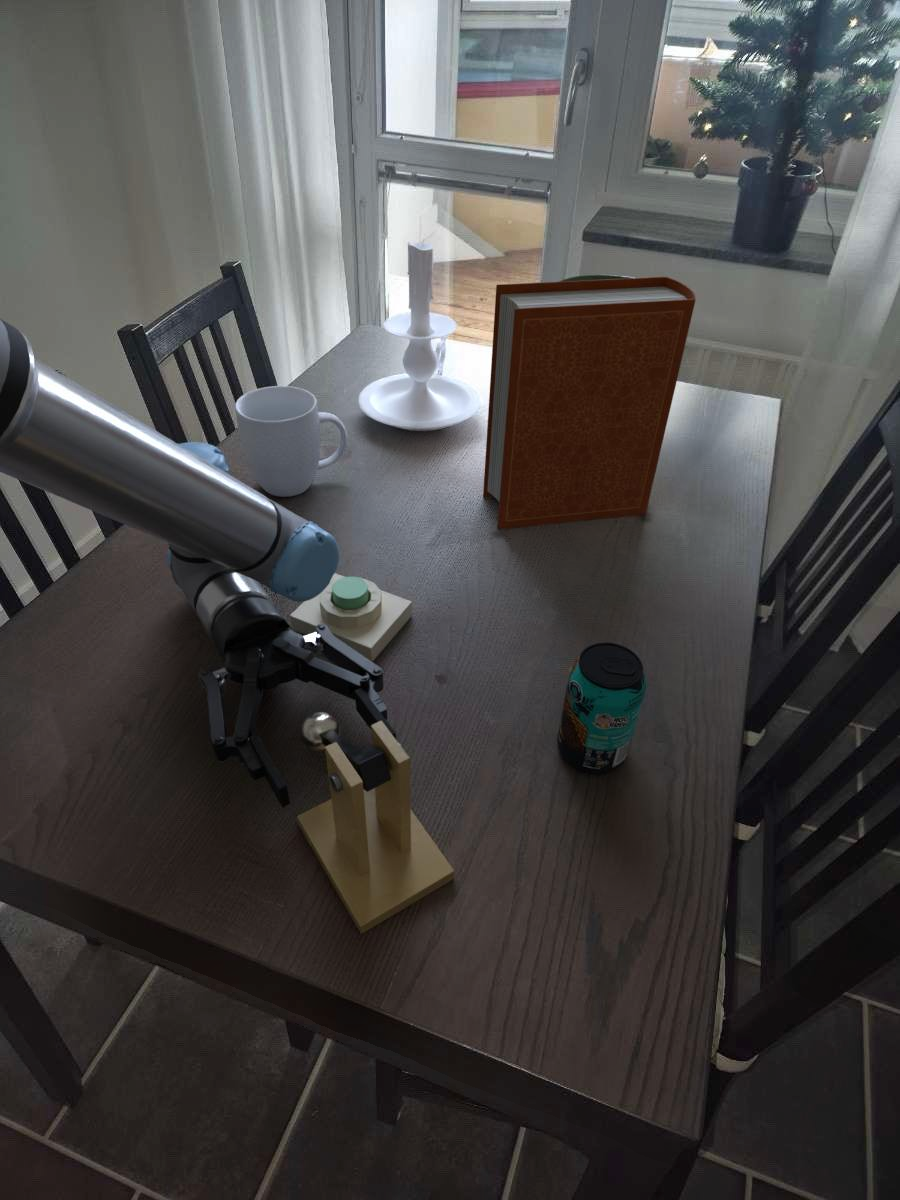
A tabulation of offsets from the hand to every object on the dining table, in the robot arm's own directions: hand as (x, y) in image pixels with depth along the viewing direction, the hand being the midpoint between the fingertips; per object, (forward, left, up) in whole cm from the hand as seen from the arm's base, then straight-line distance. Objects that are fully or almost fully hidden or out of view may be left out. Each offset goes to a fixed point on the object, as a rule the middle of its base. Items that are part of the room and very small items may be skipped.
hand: (340, 769), depth 67 cm
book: (0, +57, -5) cm, 58 cm away
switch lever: (+1, -1, +2) cm, 3 cm away
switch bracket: (+5, -3, -5) cm, 8 cm away
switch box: (-13, +21, -5) cm, 25 cm away
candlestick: (-32, +72, -5) cm, 79 cm away
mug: (-37, +42, -5) cm, 56 cm away
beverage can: (+18, +17, -5) cm, 25 cm away
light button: (-13, +21, -2) cm, 25 cm away
